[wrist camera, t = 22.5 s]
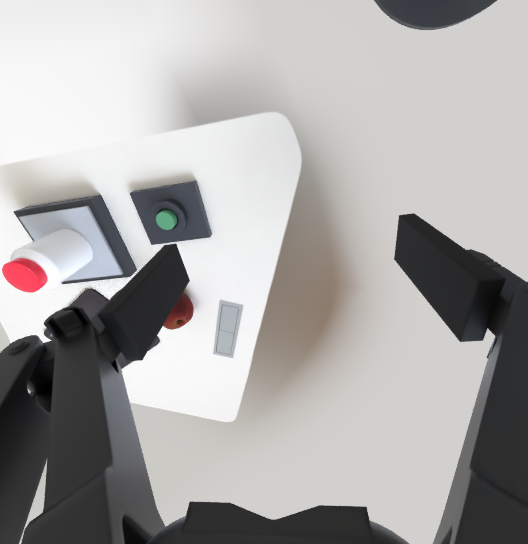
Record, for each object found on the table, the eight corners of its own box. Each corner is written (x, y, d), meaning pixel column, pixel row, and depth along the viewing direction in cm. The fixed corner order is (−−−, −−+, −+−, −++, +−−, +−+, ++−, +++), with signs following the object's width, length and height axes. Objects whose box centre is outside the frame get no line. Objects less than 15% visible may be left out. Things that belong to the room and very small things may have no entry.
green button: (173, 208, 43) (170, 210, 42) (179, 225, 45) (176, 228, 44) (156, 210, 44) (152, 213, 43) (163, 227, 45) (159, 231, 44)
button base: (196, 180, 43) (191, 184, 41) (211, 234, 48) (207, 240, 46) (133, 191, 45) (124, 195, 42) (154, 242, 50) (147, 248, 47)
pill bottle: (87, 231, 46) (36, 259, 37) (97, 267, 50) (54, 301, 41) (46, 225, 46) (-16, 252, 37) (59, 262, 50) (6, 295, 41)
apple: (185, 317, 60) (172, 342, 53) (157, 298, 57) (140, 321, 50) (203, 300, 57) (192, 324, 50) (175, 279, 54) (159, 301, 47)
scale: (100, 194, 46) (88, 199, 43) (137, 269, 54) (128, 278, 51) (26, 207, 48) (10, 212, 45) (71, 277, 56) (60, 285, 53)
